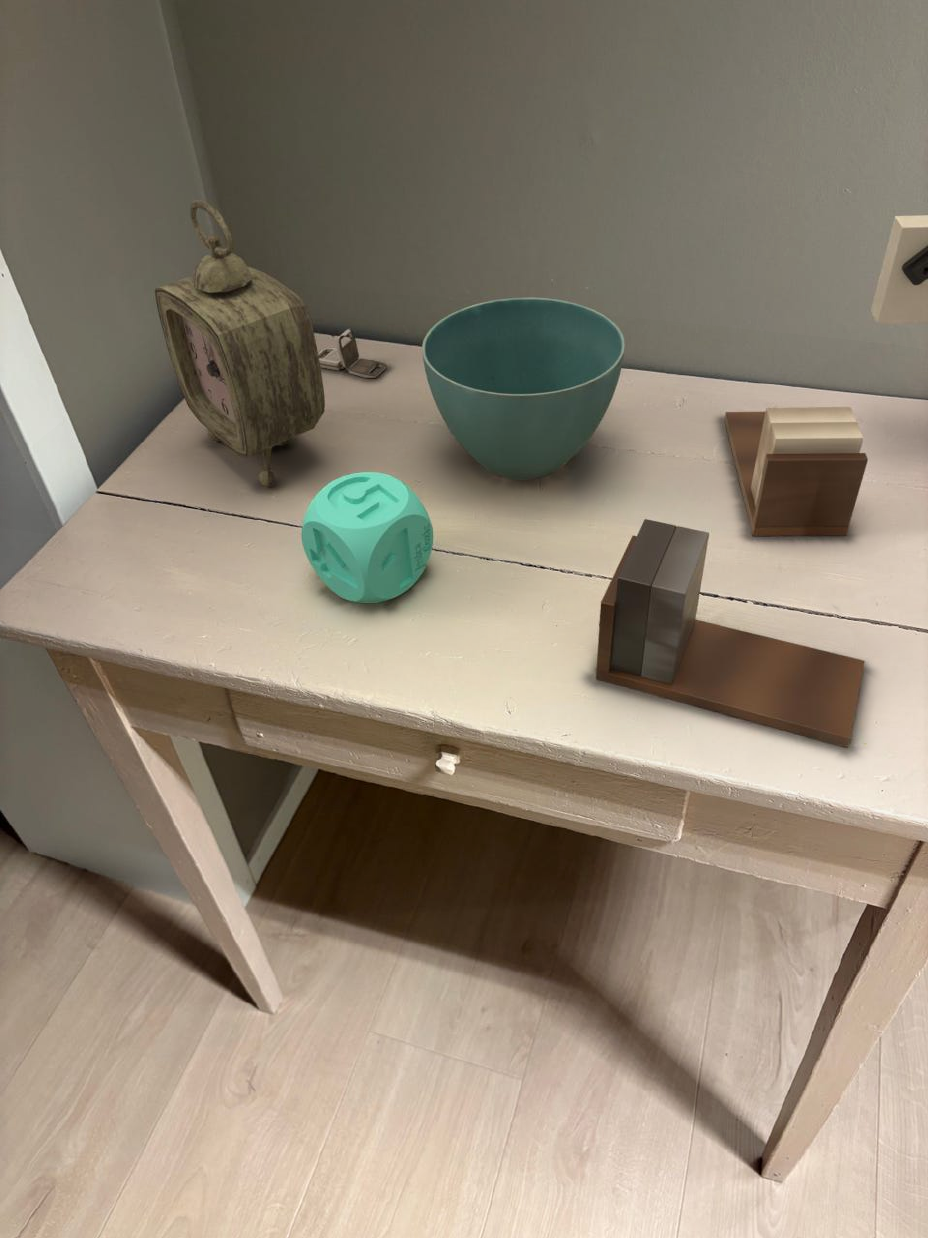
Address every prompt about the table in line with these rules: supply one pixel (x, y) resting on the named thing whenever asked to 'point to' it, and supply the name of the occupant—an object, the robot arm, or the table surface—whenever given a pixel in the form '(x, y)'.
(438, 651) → the table surface
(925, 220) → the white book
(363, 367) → the strap clip
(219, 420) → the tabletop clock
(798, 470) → the brown wooden book rack
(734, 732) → the table surface
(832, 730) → the brown wooden bookend
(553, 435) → the teal bowl
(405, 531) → the decorative dice
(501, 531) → the table surface
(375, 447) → the table surface
